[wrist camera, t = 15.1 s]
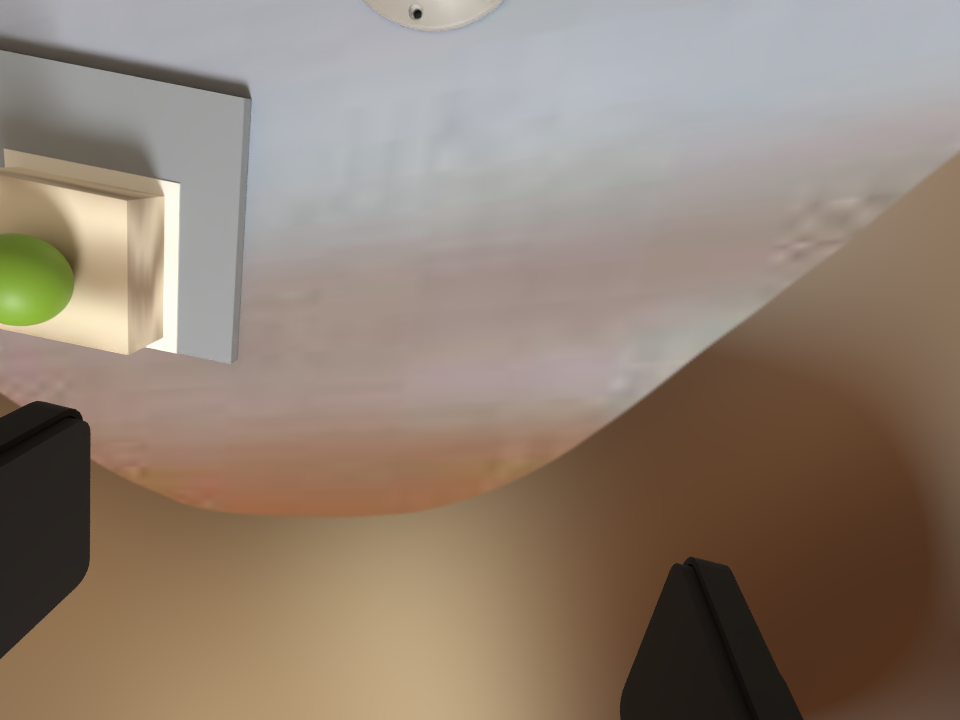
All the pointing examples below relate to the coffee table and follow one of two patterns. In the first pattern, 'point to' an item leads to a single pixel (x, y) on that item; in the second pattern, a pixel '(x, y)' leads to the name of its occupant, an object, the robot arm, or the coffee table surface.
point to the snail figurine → (32, 280)
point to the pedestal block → (94, 255)
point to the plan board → (147, 175)
